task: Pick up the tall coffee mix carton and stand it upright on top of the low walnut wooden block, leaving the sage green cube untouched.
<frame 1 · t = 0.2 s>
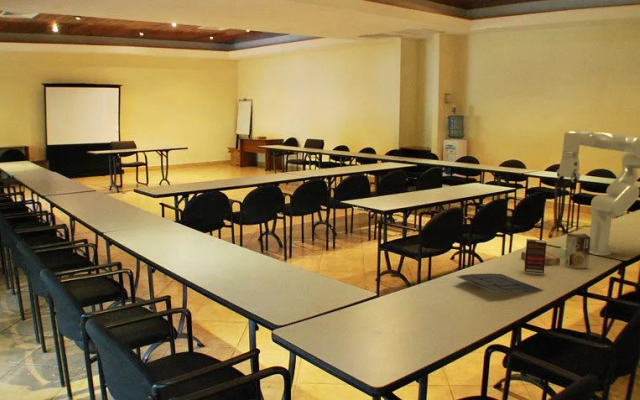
hand: (566, 188, 266), 36 cm above the table, fingers open, 9 cm apart
coffee box: (575, 266, 254), on the table
walnut block: (539, 262, 261), on the table
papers: (497, 287, 224), on the table
supplement box: (533, 273, 244), on the table
sage cube: (566, 257, 269), on the table
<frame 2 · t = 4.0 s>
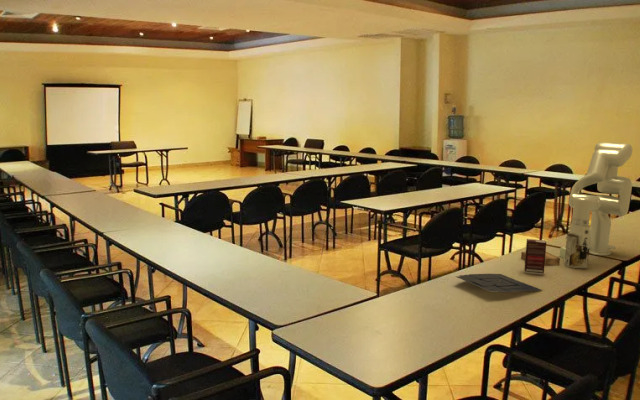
hand: (576, 256, 253), 5 cm above the table, fingers closed on coffee box, 7 cm apart
coffee box: (575, 266, 254), on the table, touching gripper
everything else where it was.
when the fingers open (11 cm above the table, at t = 11.3 s): coffee box drops 2 cm, resting on walnut block.
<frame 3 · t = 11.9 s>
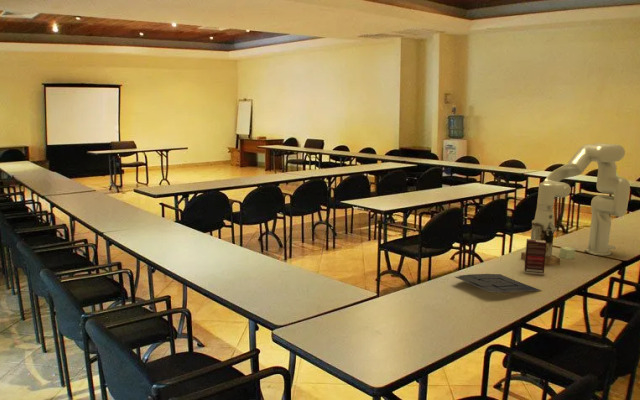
hand: (541, 240, 259), 11 cm above the table, fingers open, 9 cm apart
coffee box: (540, 255, 261), point 3 cm above the table, touching walnut block
walnut block: (539, 262, 261), on the table, touching coffee box
everything else where it was.
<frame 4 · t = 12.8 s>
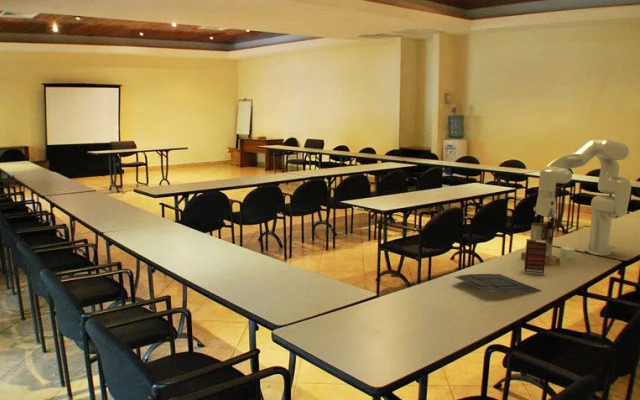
hand: (543, 226, 258), 18 cm above the table, fingers open, 9 cm apart
coffee box: (539, 255, 261), point 3 cm above the table
walnut block: (539, 262, 261), on the table
everything else where it was.
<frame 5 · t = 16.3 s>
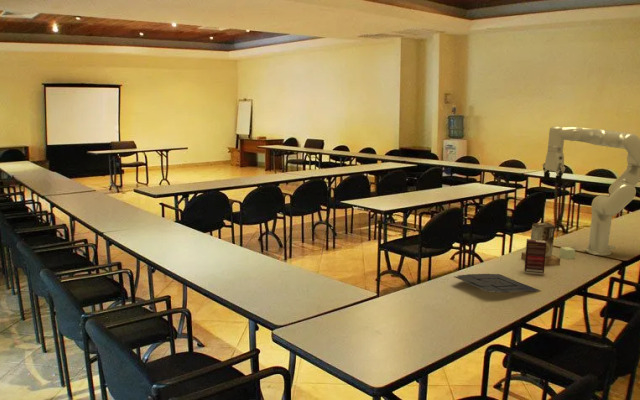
hand: (552, 181, 276), 38 cm above the table, fingers open, 9 cm apart
at the end: coffee box inside the target area on the walnut block (0.2 cm from its centre), point 4.1 cm above the walnut block's base; coffee box tilted 5°; the gripper is holding nothing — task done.
